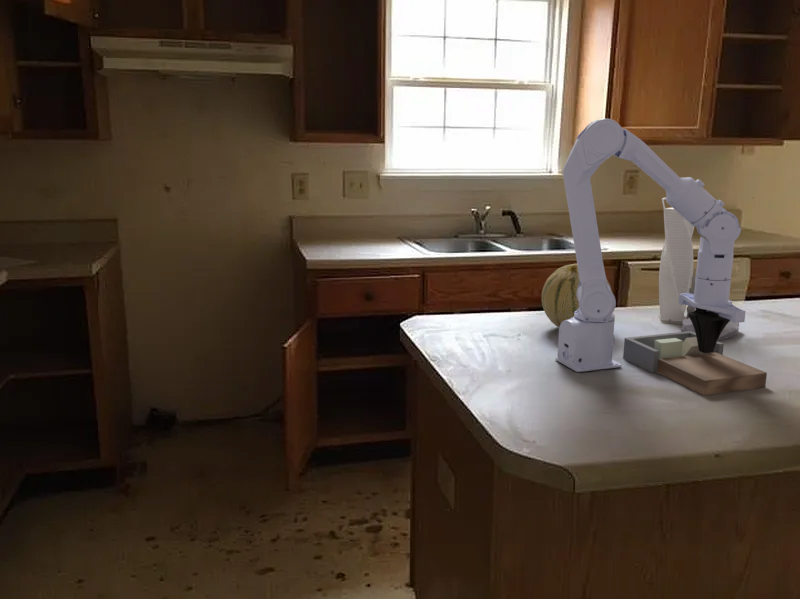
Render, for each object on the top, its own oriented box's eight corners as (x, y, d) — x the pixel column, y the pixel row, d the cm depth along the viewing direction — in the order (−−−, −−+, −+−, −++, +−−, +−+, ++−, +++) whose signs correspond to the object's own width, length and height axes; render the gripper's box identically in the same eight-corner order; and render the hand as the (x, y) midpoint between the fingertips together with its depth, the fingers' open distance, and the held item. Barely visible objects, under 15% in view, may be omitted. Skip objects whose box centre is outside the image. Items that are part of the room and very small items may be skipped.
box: (652, 372, 129) (654, 351, 128) (623, 358, 137) (624, 337, 136) (721, 364, 133) (723, 343, 132) (689, 350, 142) (690, 331, 141)
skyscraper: (654, 324, 162) (664, 198, 156) (651, 315, 170) (660, 195, 163) (694, 326, 160) (706, 199, 154) (689, 317, 168) (700, 196, 161)
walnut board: (703, 395, 118) (705, 380, 118) (657, 372, 129) (658, 359, 129) (765, 386, 122) (766, 372, 121) (715, 365, 133) (716, 352, 132)
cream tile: (691, 346, 130) (686, 337, 132) (680, 361, 134) (675, 352, 135) (712, 344, 132) (707, 335, 133) (700, 358, 135) (695, 350, 136)
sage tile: (661, 343, 130) (654, 340, 131) (659, 366, 131) (652, 363, 132) (682, 340, 131) (675, 337, 133) (680, 364, 132) (673, 361, 134)
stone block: (738, 338, 156) (692, 323, 162) (745, 318, 155) (698, 303, 160) (725, 354, 147) (676, 337, 152) (732, 333, 145) (682, 316, 151)
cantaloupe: (606, 323, 162) (610, 257, 159) (613, 341, 148) (618, 269, 145) (539, 320, 165) (542, 255, 161) (540, 338, 151) (543, 267, 147)
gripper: (763, 284, 121) (754, 361, 124) (703, 268, 135) (697, 338, 138) (728, 287, 119) (720, 365, 122) (671, 271, 133) (665, 342, 136)
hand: (705, 351), depth 130 cm, fingers closed
